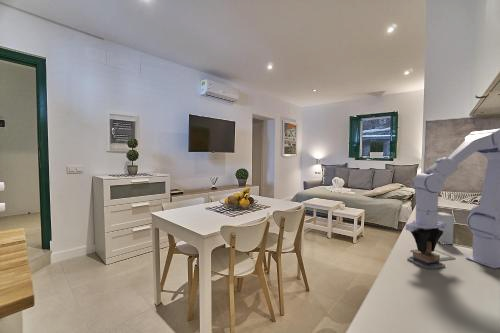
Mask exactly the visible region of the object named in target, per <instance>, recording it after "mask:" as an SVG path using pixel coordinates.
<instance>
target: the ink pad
mask: <svg viewBox="0 0 500 333" xmlns="http://www.w3.org/2000/svg"><path fill="white" fill-rule="evenodd" d="M406 261H409V262H411V263H413V264H415V265H417V266H419V267H421V268H422V269H423V268H424V269H425V270H434V269H441V268H442V269H443V268H446V264H444V263H443V262H441V261H439V262H437V263H431V264H427V263H424V262H422V261H419V260H417V259H415V258H413V255H412V256H409V257H407V260H406Z"/></svg>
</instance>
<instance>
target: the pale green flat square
mask: <svg viewBox="0 0 500 333" xmlns="http://www.w3.org/2000/svg"><path fill="white" fill-rule="evenodd" d="M417 250H418V248H417V249H411V250H410V252H411V253H413V251H417ZM432 253H435V254H438V255H440V261H439V262H441V261H447V260H448V261H449V260H455V259H456V257H455V256H452V255H449V254H447V253H445V252H441V251H439V250H437V249H436V250H435V249H434V252H432Z"/></svg>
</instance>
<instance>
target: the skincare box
mask: <svg viewBox="0 0 500 333" xmlns="http://www.w3.org/2000/svg"><path fill="white" fill-rule="evenodd" d="M438 221H441V222H445V223H447V225H446V228H445V229H444V228H439V229H438V230H442V231H443V234H442V235H441V237H440V238H439V240H438V241H439V242H440V243H441V245H446V244H453V245H454V215H452V214H450V213H447V212H442V211H441V212H440V211H439V212H438ZM439 242H438V243H439ZM440 243H439V244H440ZM443 243H444V244H443Z"/></svg>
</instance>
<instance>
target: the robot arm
mask: <svg viewBox="0 0 500 333" xmlns="http://www.w3.org/2000/svg"><path fill="white" fill-rule="evenodd" d="M474 153H478V154H480V155H481V156H484V157H485V158H486V159H487V163H486V169H485V175H484V179H483V185H482V190H481V195H480V201H479V204H478V205H476V206H475V207H472V208H471V210H470V213H469V215H468V216H467V218H466V225H467V228H469V230H470V233H472V255H467V256H465V259H467V260H470V261H473V262H475V263H478V264H481V265H483V266H487V267H490V268H492V269H497V268H500V128H495V129H487V130H479V131H477V130H475V131H471V132H470V133H469V134H468V135H467V136H464V140H463V142H462V143H461V144H460V145H459V146H458V147H457V148H455V150H454V151H452V153H450V155H449V156H448V157H441V158H436V160H435V162H434V163H433V164H432V165H431V166H429V167H428V168H426V169H425V170H424V172H423V173H421V172H420V173H418V174H416V175H415V176H414V177H413V180H412V181H411V185H412V188H413V189H414V193H415V220H412V222H410V223H406V224H405V230H406V231H408V232H410V233H411V234H412V236H413V239H414V241H415V244H416V247H417V249H418V251H421V252H423V253H425V252H426V247H427V241H428V240H429V241H431V242H432V250H431V252H434V250H435V249H436V246H437V243H438V242H437V241H438V240H439V238H440V237H441V235H442V234H443V231H442V230H438V229H439V228H444V229H445V228H446V225H447V223H445V222H441V221H438V211H439V209H438V208H439V191H442V189H443V188H444V185H445V183H446V180H447V179H449V178H450V177H451V176H452V175H454V174H455V173H456V172H457V171H458V170H459V165H460V164H461V163H462V162H464V161H465V160H466V159H468V158H469V157H470V156H472V155H474Z"/></svg>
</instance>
